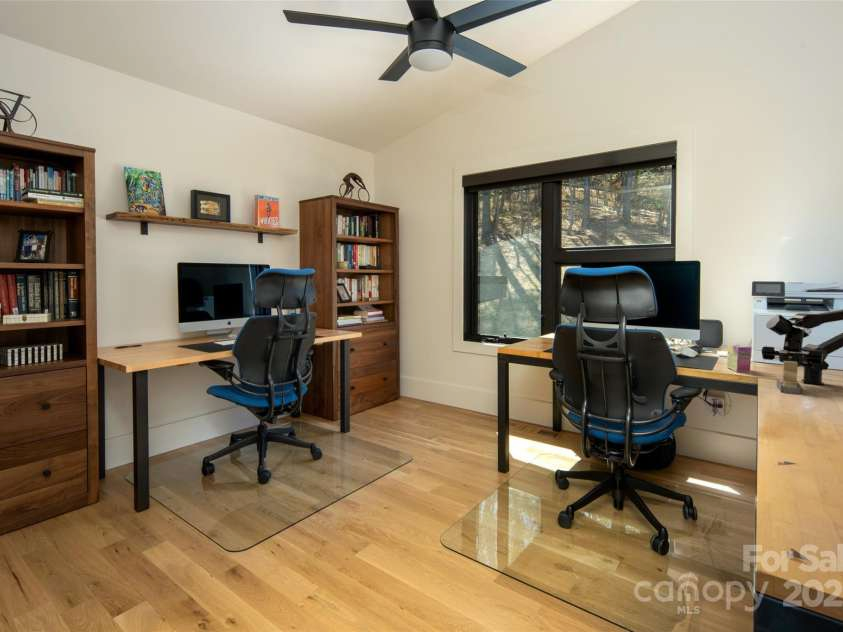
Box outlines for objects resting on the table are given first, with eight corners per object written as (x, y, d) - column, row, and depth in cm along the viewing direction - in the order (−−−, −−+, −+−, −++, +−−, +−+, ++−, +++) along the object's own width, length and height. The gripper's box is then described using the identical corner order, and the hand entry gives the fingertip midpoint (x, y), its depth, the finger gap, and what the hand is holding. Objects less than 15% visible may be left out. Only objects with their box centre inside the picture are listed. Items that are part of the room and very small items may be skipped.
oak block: (782, 383, 179) (783, 360, 178) (795, 384, 177) (796, 361, 176) (784, 385, 175) (785, 362, 175) (797, 387, 173) (798, 363, 173)
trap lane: (776, 385, 184) (776, 378, 184) (795, 387, 181) (795, 380, 181) (780, 392, 174) (781, 385, 174) (801, 394, 171) (801, 386, 170)
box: (750, 372, 210) (751, 347, 210) (736, 372, 212) (737, 346, 211) (739, 368, 221) (740, 344, 220) (726, 368, 222) (727, 343, 221)
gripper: (824, 355, 184) (820, 387, 178) (766, 350, 197) (761, 380, 190) (824, 337, 178) (820, 370, 171) (764, 334, 191) (758, 364, 184)
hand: (788, 372), depth 179 cm, fingers closed
